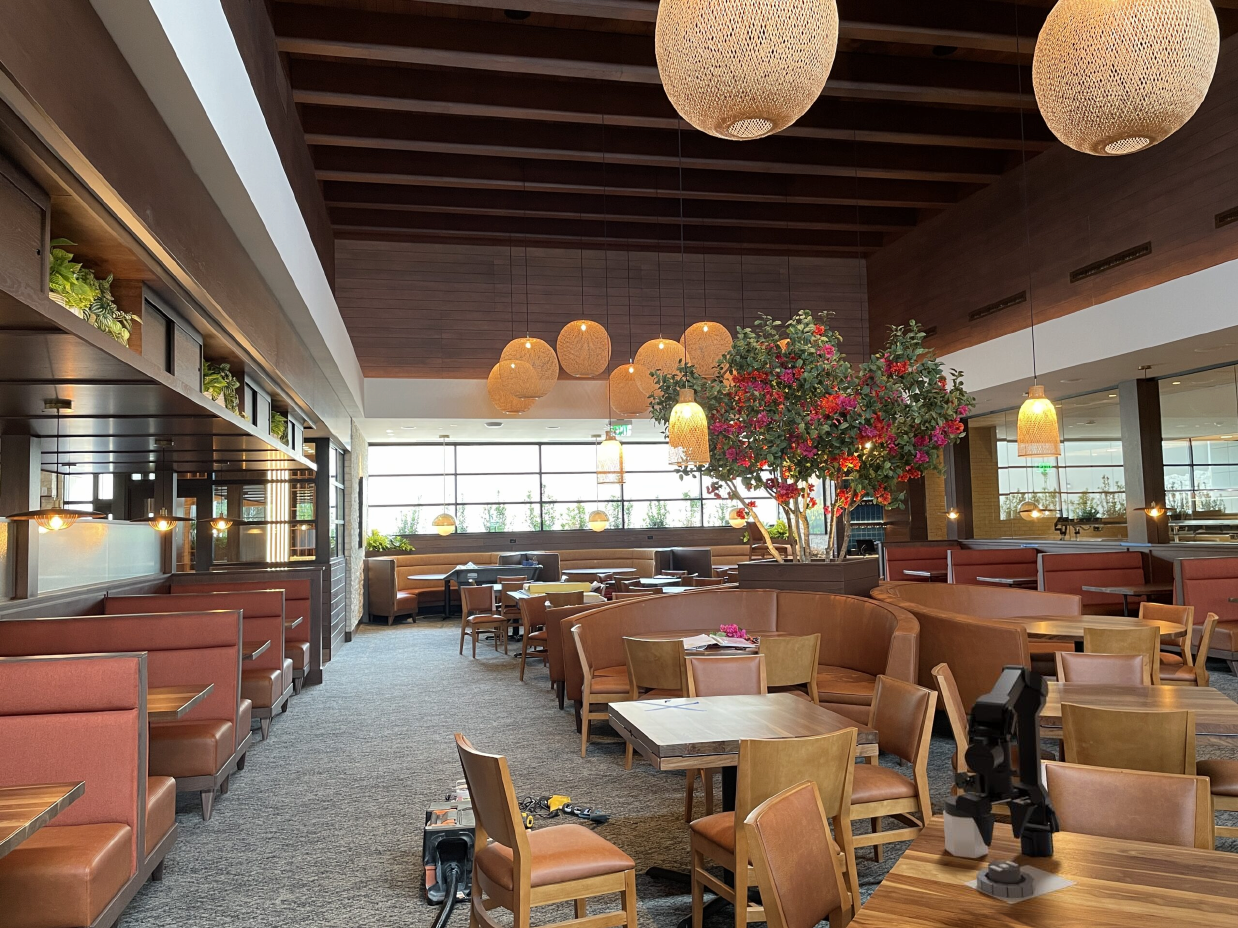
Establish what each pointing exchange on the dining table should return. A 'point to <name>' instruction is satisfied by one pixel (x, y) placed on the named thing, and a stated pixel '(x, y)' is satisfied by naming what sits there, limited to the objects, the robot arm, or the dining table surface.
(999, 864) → the cap
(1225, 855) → the dining table surface
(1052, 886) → the plate
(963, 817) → the jar
